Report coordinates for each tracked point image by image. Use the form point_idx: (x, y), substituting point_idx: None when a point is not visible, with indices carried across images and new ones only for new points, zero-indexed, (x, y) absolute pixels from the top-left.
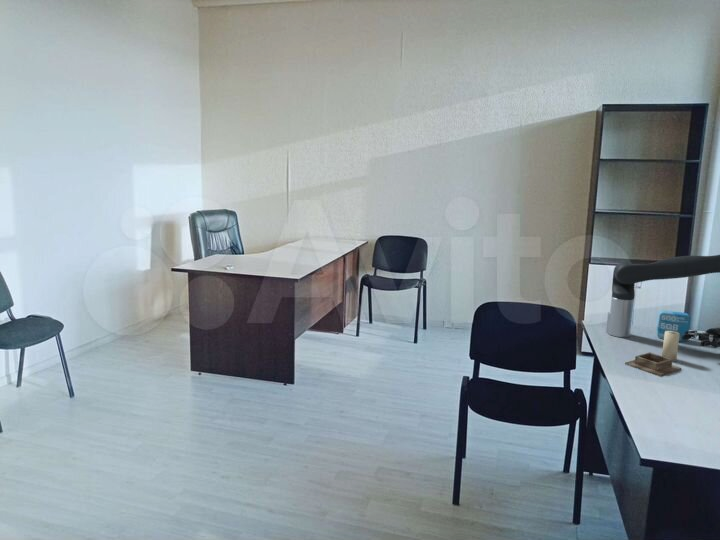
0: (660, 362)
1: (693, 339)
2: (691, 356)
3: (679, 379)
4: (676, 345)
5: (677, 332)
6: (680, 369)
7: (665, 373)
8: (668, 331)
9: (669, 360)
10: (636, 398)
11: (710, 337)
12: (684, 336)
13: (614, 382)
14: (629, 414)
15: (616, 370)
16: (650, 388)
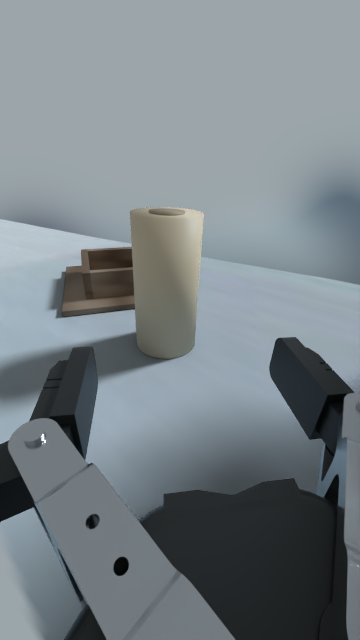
0: (84, 254)
1: (318, 487)
2: (175, 464)
3: (22, 284)
4: (133, 272)
5: (164, 218)
6: (62, 313)
7: (65, 277)
8: (192, 213)
9: (82, 267)
10: (31, 233)
11: (79, 481)
12: (280, 354)
13: (92, 237)
14: (10, 222)
15: None
16: (39, 248)
